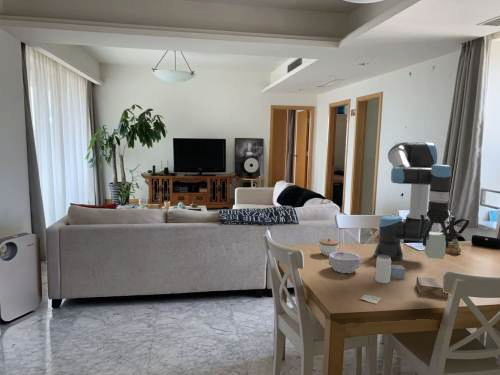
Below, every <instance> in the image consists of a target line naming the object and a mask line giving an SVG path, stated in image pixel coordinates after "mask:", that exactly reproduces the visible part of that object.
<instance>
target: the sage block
mask: <svg viewBox="0 0 500 375" xmlns="http://www.w3.org/2000/svg"><path fill="white" fill-rule="evenodd" d="M427 238H428V253H427V254H425V255H426V257H427V258H430V259H437V260H438V259H440V260H444V259H445V258H444V257H445V256H444V246H445V235H444V234H443V232H439V231H432V232H429V234H428V237H427Z"/></svg>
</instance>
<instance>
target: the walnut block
mask: <svg viewBox="0 0 500 375" xmlns="http://www.w3.org/2000/svg"><path fill="white" fill-rule="evenodd" d="M443 279H444V278H443ZM443 279H442V278H434V277H426V276H425V277H424V276H416V283H415V286H416V288H417V290H418V294H419V295H422V294H424V295H423V296H430V295H432V297H438V296H445V297H444V298H446V297H448V298H449V295H450V293H445V292H443Z"/></svg>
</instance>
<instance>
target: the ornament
mask: <svg viewBox="0 0 500 375" xmlns="http://www.w3.org/2000/svg"><path fill="white" fill-rule="evenodd" d="M446 253H447V254H450V255H451V254H453V255H460V254H461V253H462V248H461V247H460V244H459V240H458V237H456V236H454V239H453V240H451V241H449V243H448V248H445V254H446Z"/></svg>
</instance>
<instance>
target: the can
mask: <svg viewBox="0 0 500 375" xmlns="http://www.w3.org/2000/svg"><path fill="white" fill-rule="evenodd" d="M391 265H392V260H391V257H390V256H388V255H378V257H376V264H375V277H374V278H375V281H376V282H377V283H378V282H379V284H382V283H383V284H384V285H385V284H389V283H390V282H391V275H390V274H391Z"/></svg>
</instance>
